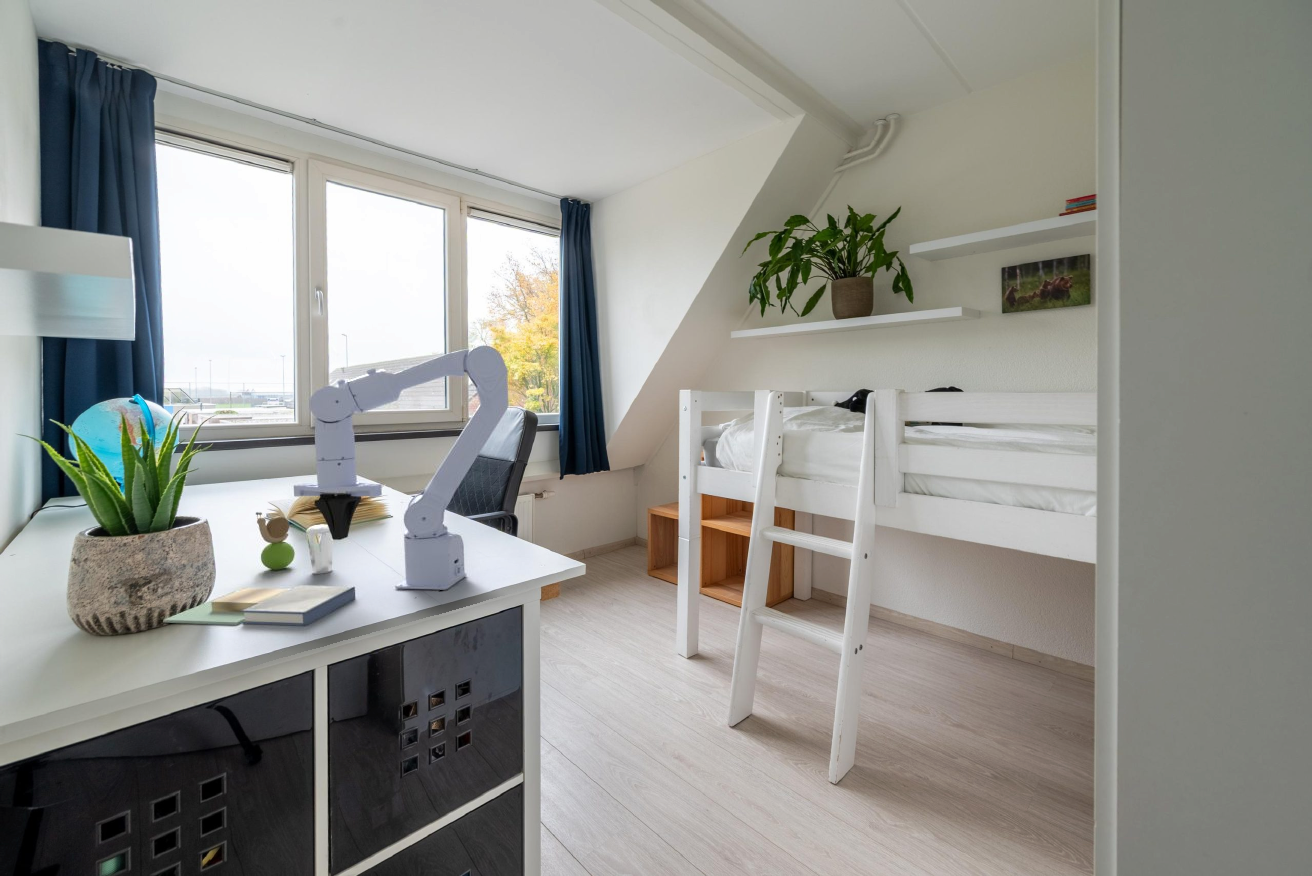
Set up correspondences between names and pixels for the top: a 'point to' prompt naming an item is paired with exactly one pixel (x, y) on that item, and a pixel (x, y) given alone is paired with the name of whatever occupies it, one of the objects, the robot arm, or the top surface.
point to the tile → (243, 599)
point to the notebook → (299, 605)
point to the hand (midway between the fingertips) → (340, 538)
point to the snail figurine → (275, 542)
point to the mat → (207, 616)
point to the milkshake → (320, 548)
